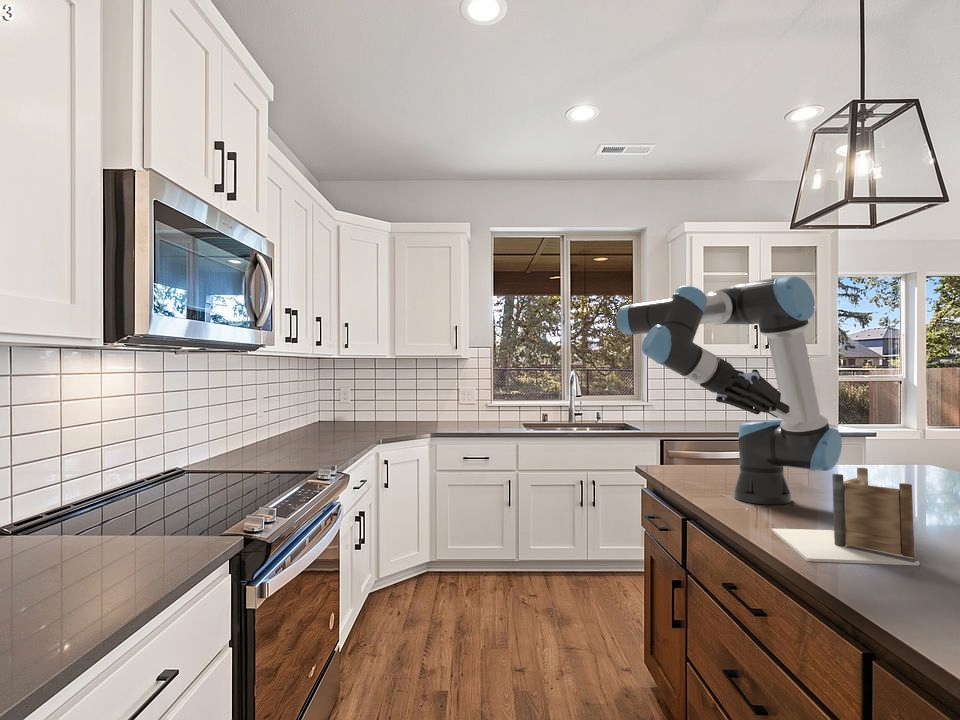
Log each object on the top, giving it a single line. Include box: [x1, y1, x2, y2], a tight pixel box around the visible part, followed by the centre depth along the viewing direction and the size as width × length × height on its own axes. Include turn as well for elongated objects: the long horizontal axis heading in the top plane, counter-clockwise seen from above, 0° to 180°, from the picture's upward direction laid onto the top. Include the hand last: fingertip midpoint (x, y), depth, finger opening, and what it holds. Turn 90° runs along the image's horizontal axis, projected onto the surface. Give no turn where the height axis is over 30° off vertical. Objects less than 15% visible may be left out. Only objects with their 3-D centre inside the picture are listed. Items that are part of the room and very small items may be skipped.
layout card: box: [771, 528, 921, 566], centre depth 122 cm, size 22×20×1 cm
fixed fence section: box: [831, 467, 869, 547], centre depth 125 cm, size 14×2×15 cm, turn 125°
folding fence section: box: [845, 483, 915, 558], centre depth 116 cm, size 11×2×14 cm, turn 39°
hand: (796, 419), depth 129 cm, fingers closed
